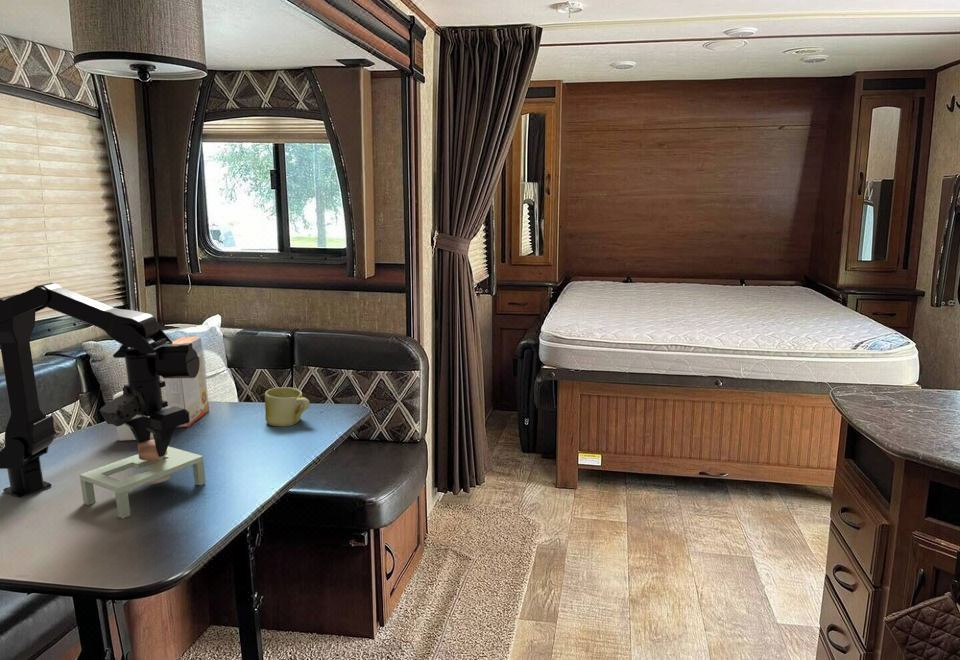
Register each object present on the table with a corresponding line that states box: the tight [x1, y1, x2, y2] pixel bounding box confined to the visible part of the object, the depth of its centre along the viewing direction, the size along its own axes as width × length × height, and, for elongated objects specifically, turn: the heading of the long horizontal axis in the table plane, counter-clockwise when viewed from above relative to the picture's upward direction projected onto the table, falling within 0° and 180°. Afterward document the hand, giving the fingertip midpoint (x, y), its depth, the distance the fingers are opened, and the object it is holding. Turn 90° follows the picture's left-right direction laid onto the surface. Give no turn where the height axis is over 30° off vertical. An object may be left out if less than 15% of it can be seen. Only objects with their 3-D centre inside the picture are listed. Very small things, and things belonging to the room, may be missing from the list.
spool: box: [137, 438, 171, 485], centre depth 143 cm, size 5×5×8 cm
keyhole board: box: [79, 445, 207, 519], centre depth 142 cm, size 13×18×6 cm
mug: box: [264, 386, 311, 427], centre depth 183 cm, size 12×10×10 cm
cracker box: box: [160, 336, 210, 428], centre depth 186 cm, size 14×6×21 cm, turn 178°
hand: (153, 453), depth 143 cm, fingers closed on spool, 5 cm apart
